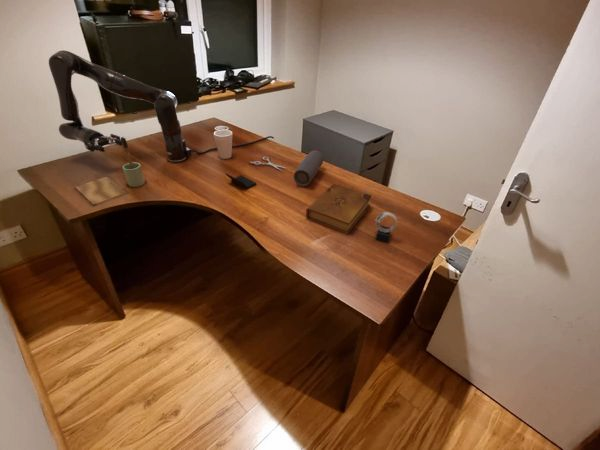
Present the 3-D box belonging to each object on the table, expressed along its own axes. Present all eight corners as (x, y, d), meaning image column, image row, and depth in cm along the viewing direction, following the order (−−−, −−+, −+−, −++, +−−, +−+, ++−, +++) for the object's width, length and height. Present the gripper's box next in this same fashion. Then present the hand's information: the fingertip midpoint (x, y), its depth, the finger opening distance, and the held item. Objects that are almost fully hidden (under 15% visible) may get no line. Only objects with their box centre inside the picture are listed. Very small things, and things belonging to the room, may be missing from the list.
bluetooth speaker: (311, 190, 153) (312, 170, 147) (292, 186, 155) (292, 167, 149) (324, 168, 170) (325, 150, 164) (307, 165, 172) (308, 147, 166)
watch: (373, 230, 130) (378, 207, 123) (394, 235, 128) (400, 212, 121) (370, 238, 126) (375, 215, 119) (391, 244, 124) (398, 220, 117)
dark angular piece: (258, 179, 156) (247, 168, 147) (252, 192, 154) (241, 183, 146) (240, 175, 161) (228, 165, 153) (234, 188, 160) (222, 179, 151)
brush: (137, 181, 153) (123, 135, 140) (139, 182, 152) (125, 137, 139) (133, 182, 152) (119, 136, 139) (135, 183, 151) (121, 138, 138)
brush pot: (140, 177, 157) (135, 160, 151) (148, 183, 153) (143, 166, 147) (125, 183, 152) (119, 165, 147) (132, 189, 148) (127, 171, 143)
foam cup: (238, 155, 179) (235, 132, 171) (226, 161, 173) (223, 138, 165) (225, 150, 183) (222, 128, 175) (213, 156, 177) (209, 133, 169)
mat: (107, 177, 156) (107, 176, 156) (126, 193, 146) (126, 192, 145) (75, 188, 148) (75, 186, 148) (93, 205, 137) (93, 204, 137)
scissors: (263, 155, 179) (292, 165, 169) (263, 156, 179) (292, 167, 170) (249, 162, 172) (279, 173, 162) (249, 163, 172) (279, 174, 163)
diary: (331, 194, 151) (332, 183, 147) (369, 206, 143) (371, 195, 140) (305, 218, 135) (306, 207, 131) (347, 234, 127) (349, 222, 124)
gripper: (73, 134, 147) (94, 143, 140) (103, 125, 157) (124, 133, 150) (79, 150, 152) (100, 159, 145) (108, 140, 161) (129, 149, 155)
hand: (112, 146), depth 148 cm, fingers open, 8 cm apart
